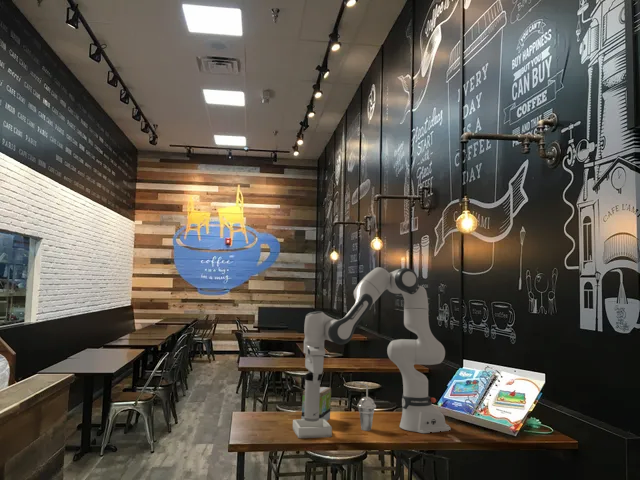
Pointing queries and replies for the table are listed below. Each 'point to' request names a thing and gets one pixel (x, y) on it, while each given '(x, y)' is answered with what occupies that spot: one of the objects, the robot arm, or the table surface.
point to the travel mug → (312, 398)
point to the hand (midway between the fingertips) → (313, 382)
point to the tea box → (321, 403)
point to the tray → (312, 428)
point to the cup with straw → (366, 410)
